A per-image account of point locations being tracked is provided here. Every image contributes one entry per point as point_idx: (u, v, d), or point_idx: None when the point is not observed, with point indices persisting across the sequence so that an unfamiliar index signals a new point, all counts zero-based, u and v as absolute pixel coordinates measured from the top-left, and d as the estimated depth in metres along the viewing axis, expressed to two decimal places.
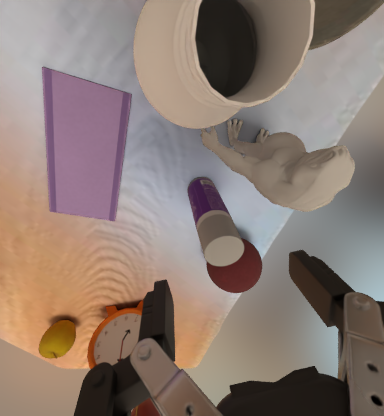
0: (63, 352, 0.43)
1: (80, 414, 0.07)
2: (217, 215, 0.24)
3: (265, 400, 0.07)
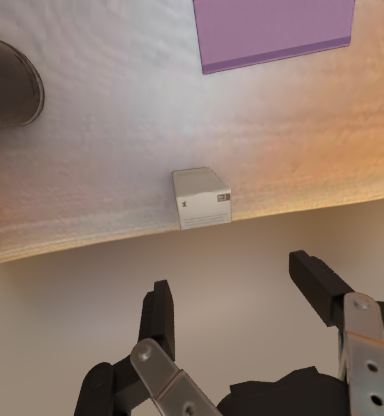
0: None
1: (80, 414, 0.07)
2: None
3: (265, 400, 0.07)
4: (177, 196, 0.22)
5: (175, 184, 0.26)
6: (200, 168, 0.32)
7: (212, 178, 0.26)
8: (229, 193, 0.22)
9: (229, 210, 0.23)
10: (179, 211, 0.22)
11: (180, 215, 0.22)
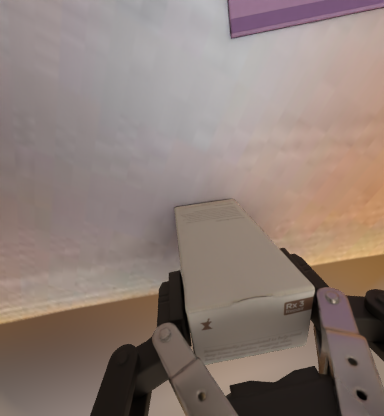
0: None
1: (105, 388, 0.08)
2: None
3: (265, 400, 0.07)
4: (190, 309, 0.09)
5: (182, 250, 0.13)
6: (221, 202, 0.19)
7: (254, 236, 0.13)
8: (312, 296, 0.09)
9: (306, 327, 0.10)
10: (194, 338, 0.09)
11: (196, 344, 0.10)
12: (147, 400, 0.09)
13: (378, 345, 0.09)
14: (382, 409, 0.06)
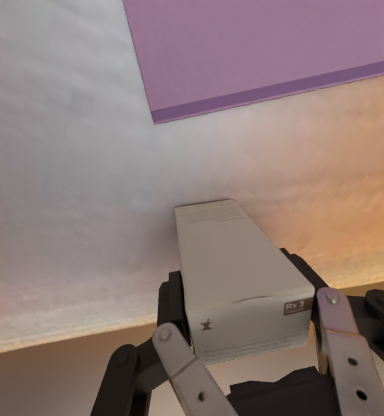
0: None
1: (105, 388, 0.08)
2: None
3: (265, 400, 0.07)
4: (190, 309, 0.09)
5: (182, 251, 0.13)
6: (221, 202, 0.19)
7: (253, 236, 0.13)
8: (312, 297, 0.09)
9: (306, 328, 0.10)
10: (194, 338, 0.09)
11: (196, 345, 0.10)
12: (147, 400, 0.09)
13: (378, 345, 0.09)
14: (382, 409, 0.06)
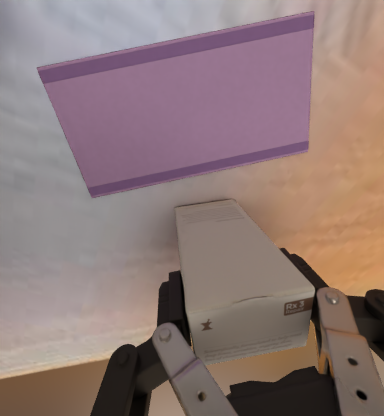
0: None
1: (105, 388, 0.08)
2: None
3: (265, 400, 0.07)
4: (190, 309, 0.09)
5: (182, 251, 0.13)
6: (221, 202, 0.19)
7: (254, 236, 0.13)
8: (312, 297, 0.09)
9: (306, 328, 0.10)
10: (194, 338, 0.09)
11: (196, 345, 0.10)
12: (147, 400, 0.09)
13: (378, 345, 0.09)
14: (382, 409, 0.06)
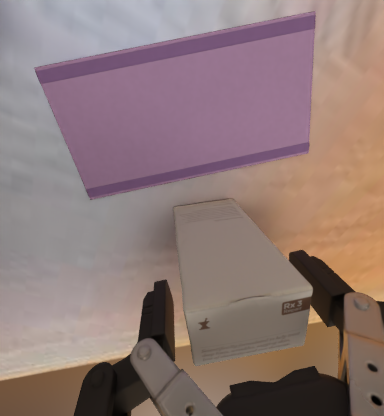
0: None
1: (80, 414, 0.07)
2: None
3: (265, 400, 0.07)
4: (188, 308, 0.09)
5: (180, 250, 0.13)
6: (220, 201, 0.19)
7: (252, 236, 0.13)
8: (310, 296, 0.09)
9: (304, 327, 0.10)
10: (192, 337, 0.09)
11: (194, 344, 0.10)
12: None
13: None
14: None
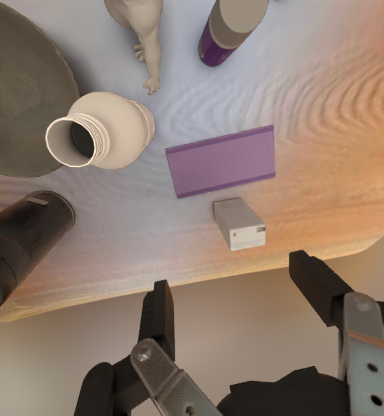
0: None
1: (80, 414, 0.07)
2: (213, 31, 0.22)
3: (265, 400, 0.07)
4: (230, 229, 0.32)
5: (223, 217, 0.36)
6: (235, 199, 0.42)
7: (249, 212, 0.36)
8: (264, 226, 0.32)
9: (264, 237, 0.33)
10: (230, 239, 0.33)
11: (231, 241, 0.33)
12: None
13: None
14: None
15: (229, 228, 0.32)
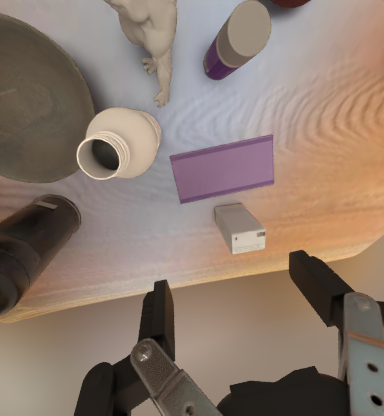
0: None
1: (80, 414, 0.07)
2: (220, 52, 0.24)
3: (265, 400, 0.07)
4: (232, 234, 0.34)
5: (224, 221, 0.38)
6: (235, 204, 0.44)
7: (249, 217, 0.38)
8: (264, 231, 0.34)
9: (264, 241, 0.35)
10: (232, 243, 0.34)
11: (232, 245, 0.34)
12: None
13: None
14: None
15: (231, 233, 0.34)
